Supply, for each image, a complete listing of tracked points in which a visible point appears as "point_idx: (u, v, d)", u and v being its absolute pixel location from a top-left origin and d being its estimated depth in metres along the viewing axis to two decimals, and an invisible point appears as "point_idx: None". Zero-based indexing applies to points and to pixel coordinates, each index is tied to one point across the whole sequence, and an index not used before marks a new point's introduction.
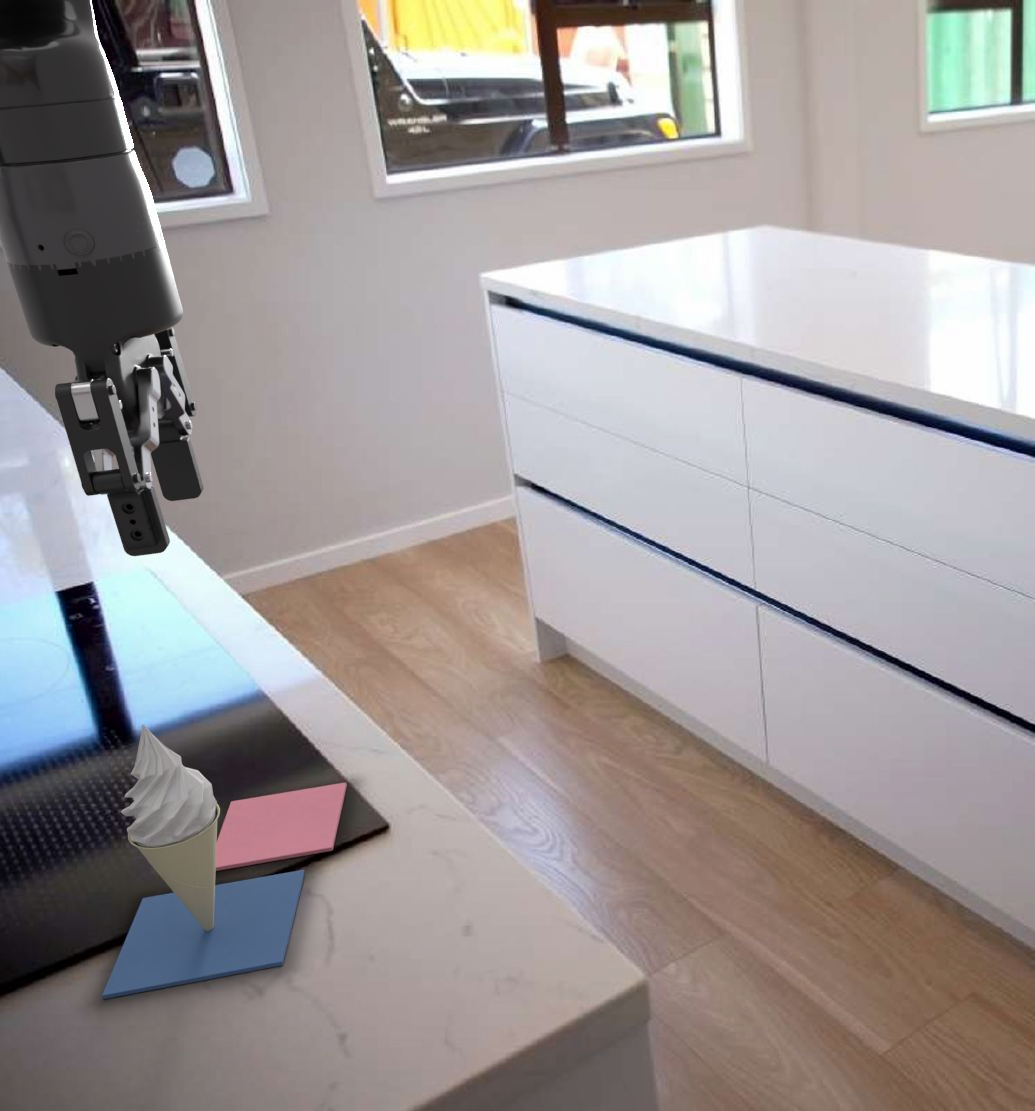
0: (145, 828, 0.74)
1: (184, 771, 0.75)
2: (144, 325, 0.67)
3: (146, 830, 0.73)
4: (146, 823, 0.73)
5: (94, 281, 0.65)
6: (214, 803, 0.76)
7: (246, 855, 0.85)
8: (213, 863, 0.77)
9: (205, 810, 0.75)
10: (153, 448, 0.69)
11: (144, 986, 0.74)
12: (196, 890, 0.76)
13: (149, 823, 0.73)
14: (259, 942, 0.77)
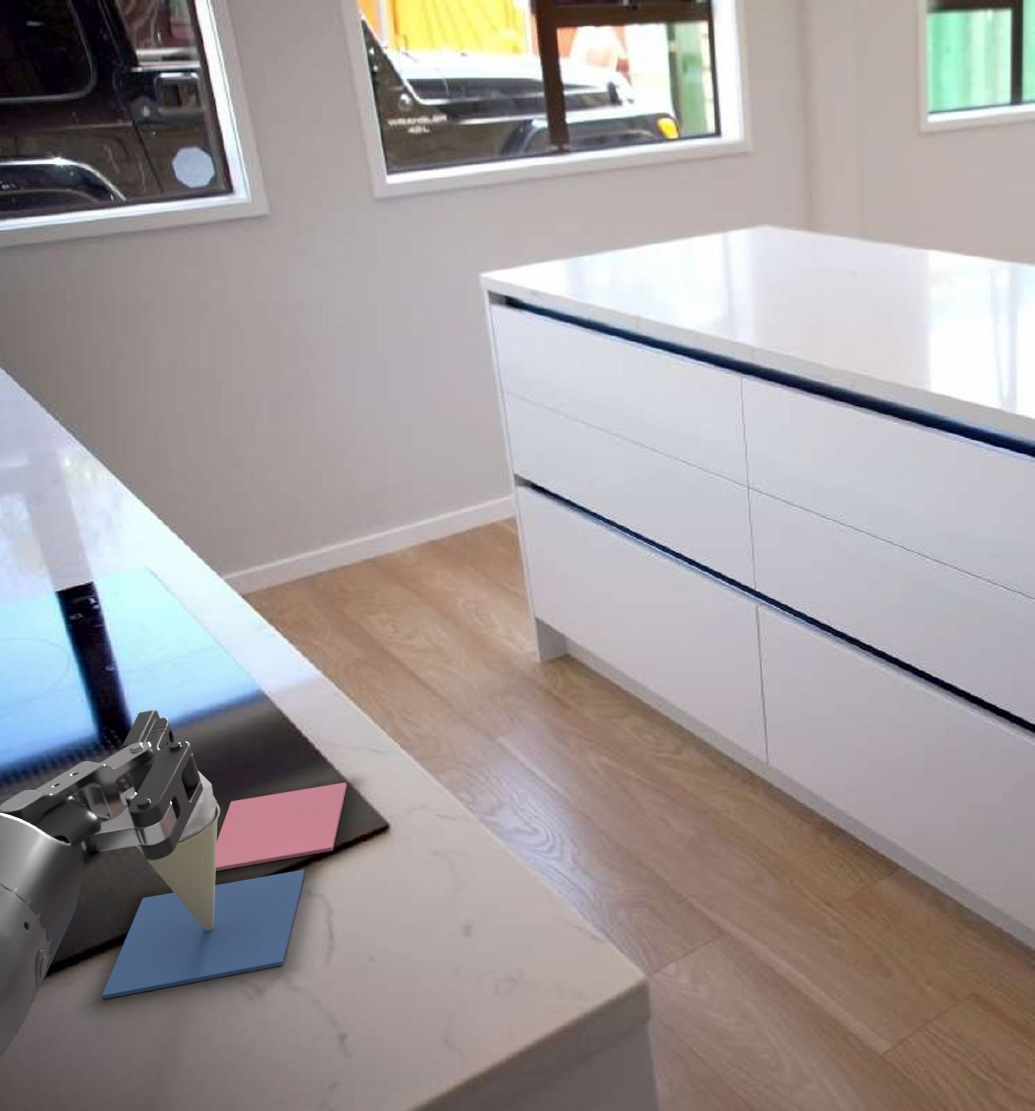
0: None
1: None
2: None
3: None
4: None
5: None
6: (214, 803, 0.76)
7: (246, 855, 0.85)
8: (213, 863, 0.77)
9: (205, 810, 0.75)
10: None
11: (144, 986, 0.74)
12: (196, 890, 0.76)
13: None
14: (259, 942, 0.77)
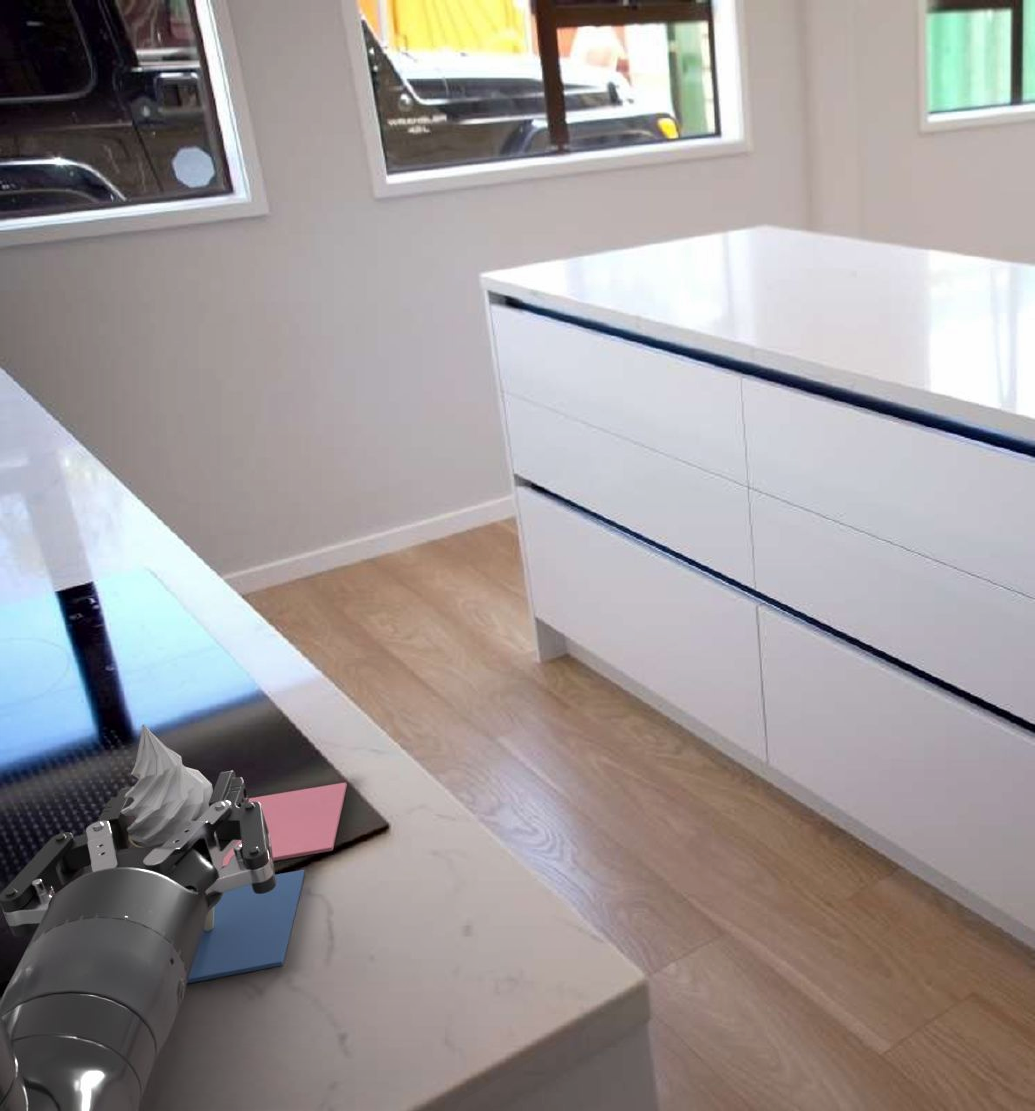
0: (145, 828, 0.74)
1: (184, 771, 0.75)
2: None
3: (146, 830, 0.74)
4: (146, 822, 0.73)
5: None
6: None
7: None
8: None
9: (205, 810, 0.75)
10: None
11: None
12: None
13: (149, 823, 0.73)
14: (259, 942, 0.77)
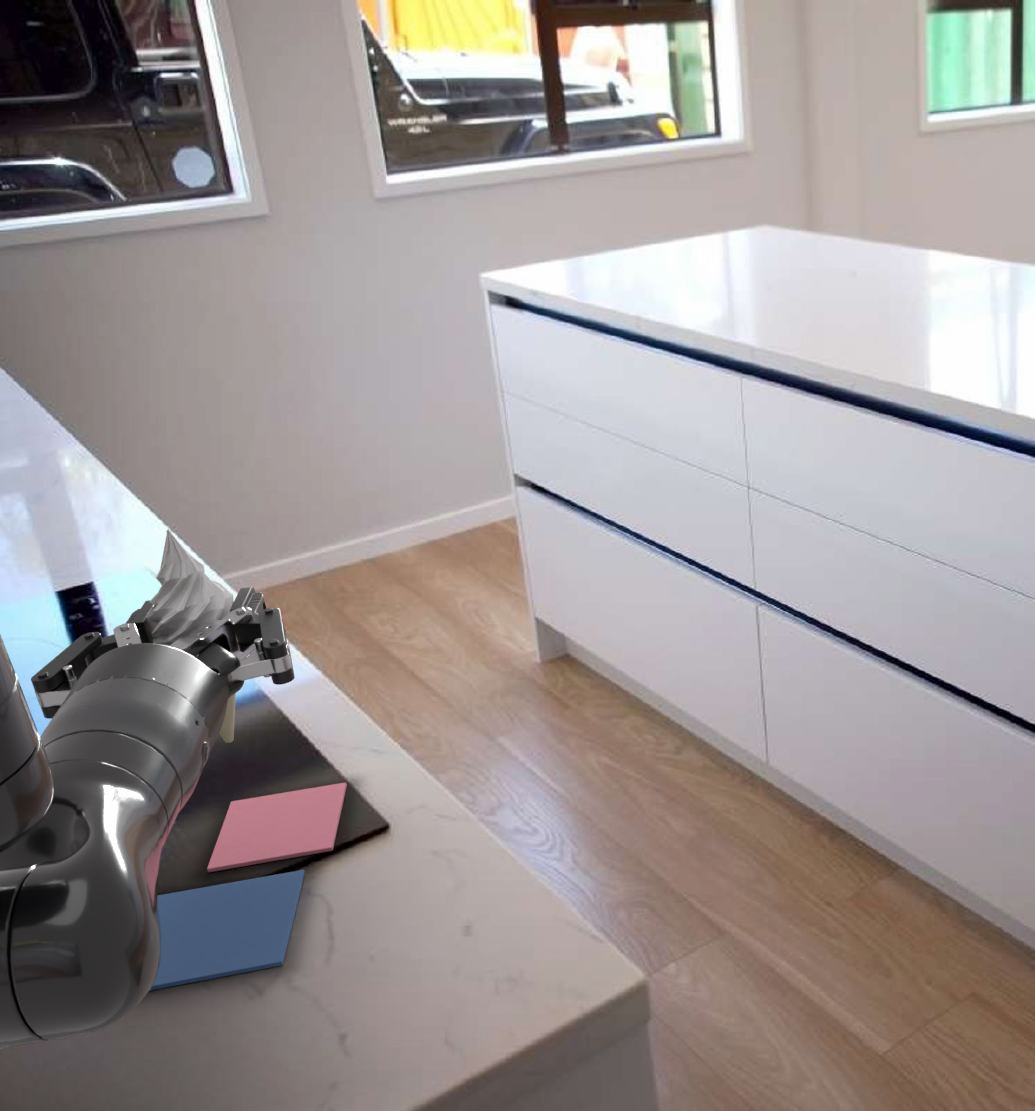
0: (169, 631, 0.77)
1: (206, 579, 0.78)
2: None
3: (170, 633, 0.77)
4: (170, 625, 0.77)
5: None
6: None
7: (246, 855, 0.85)
8: None
9: None
10: None
11: None
12: None
13: (173, 625, 0.76)
14: (259, 942, 0.77)
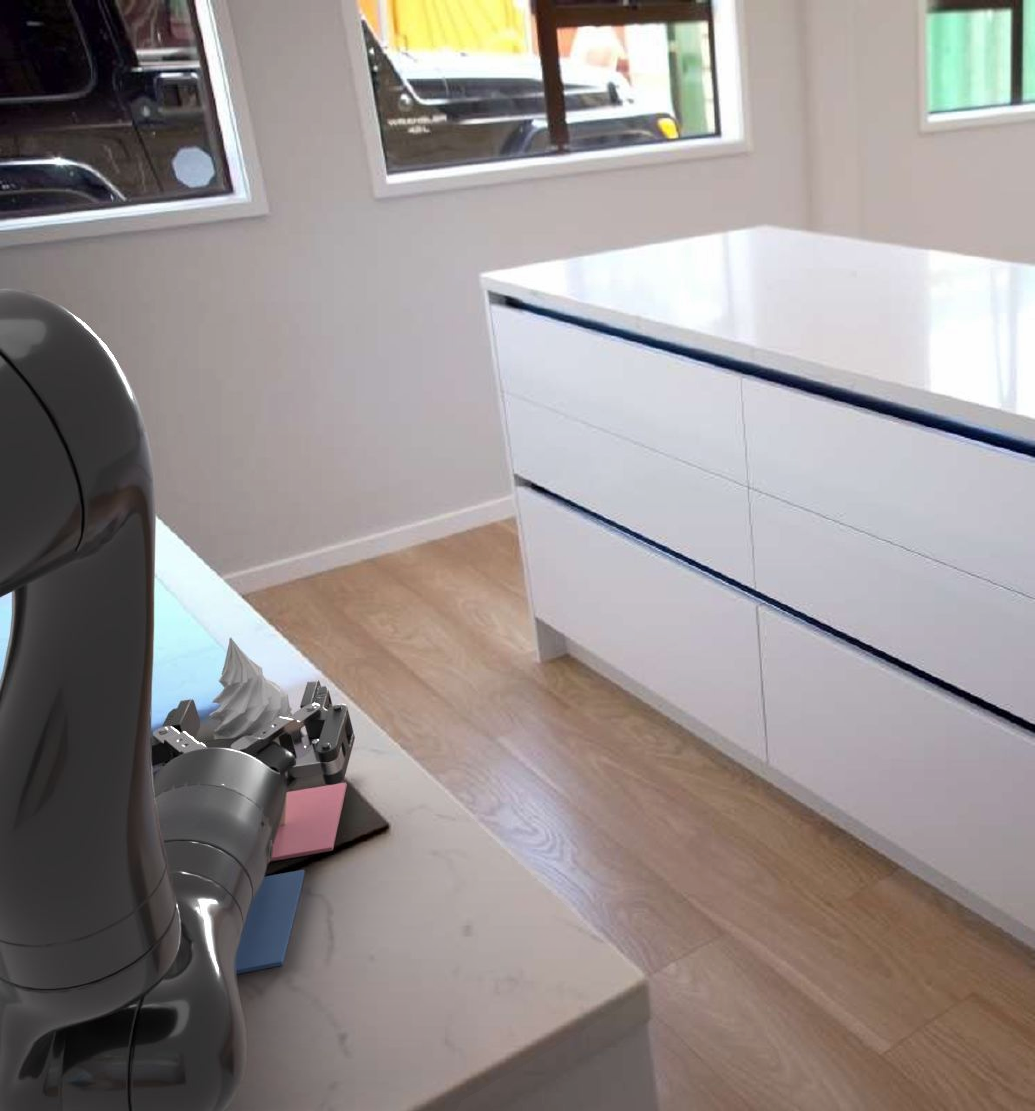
0: (230, 730, 0.83)
1: (264, 681, 0.84)
2: None
3: (231, 731, 0.83)
4: (232, 725, 0.83)
5: None
6: (289, 711, 0.86)
7: None
8: None
9: (282, 716, 0.84)
10: None
11: None
12: None
13: (234, 725, 0.83)
14: (259, 942, 0.77)
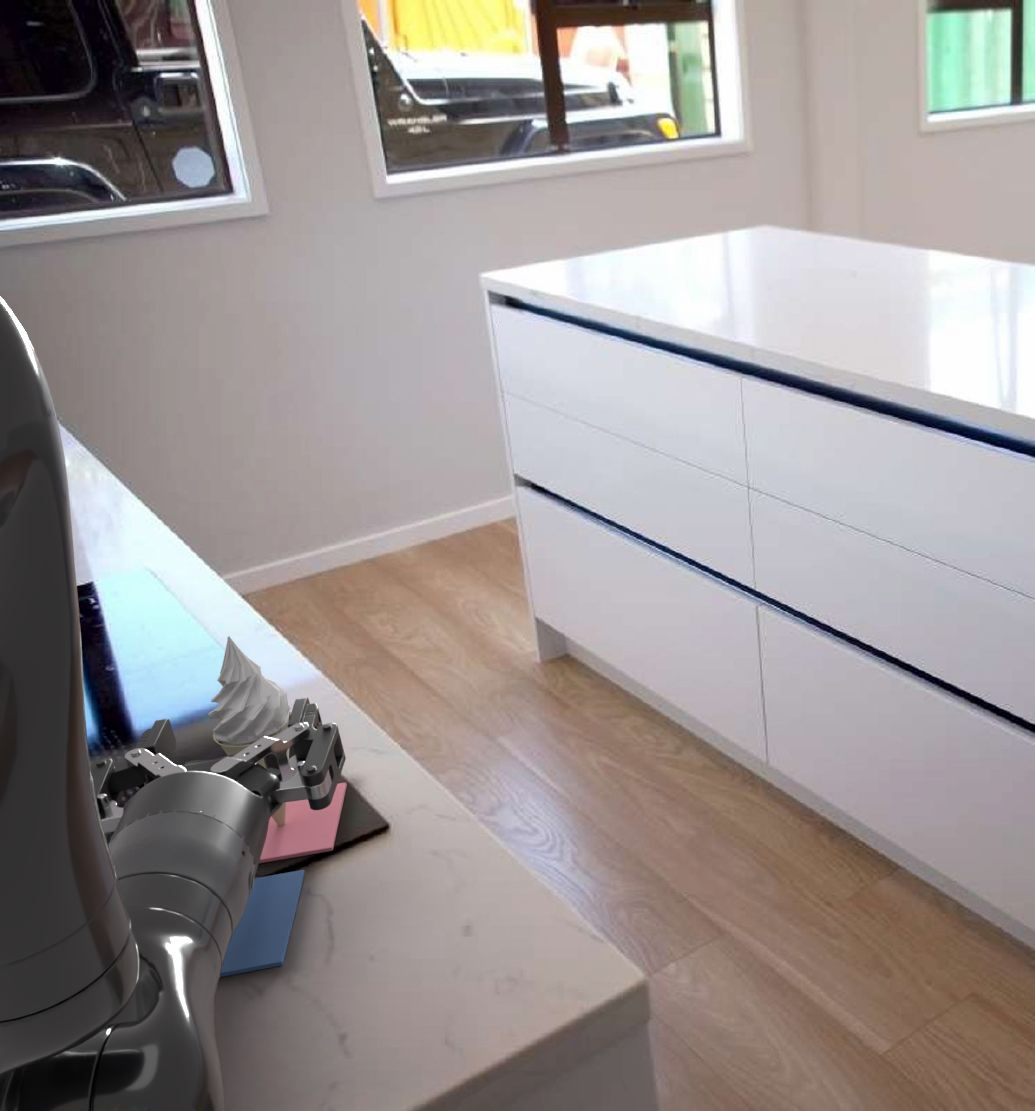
0: (229, 729, 0.83)
1: (263, 680, 0.84)
2: None
3: (230, 730, 0.83)
4: (230, 724, 0.83)
5: None
6: (288, 710, 0.86)
7: None
8: None
9: (281, 714, 0.85)
10: None
11: None
12: None
13: (233, 724, 0.83)
14: (259, 942, 0.77)
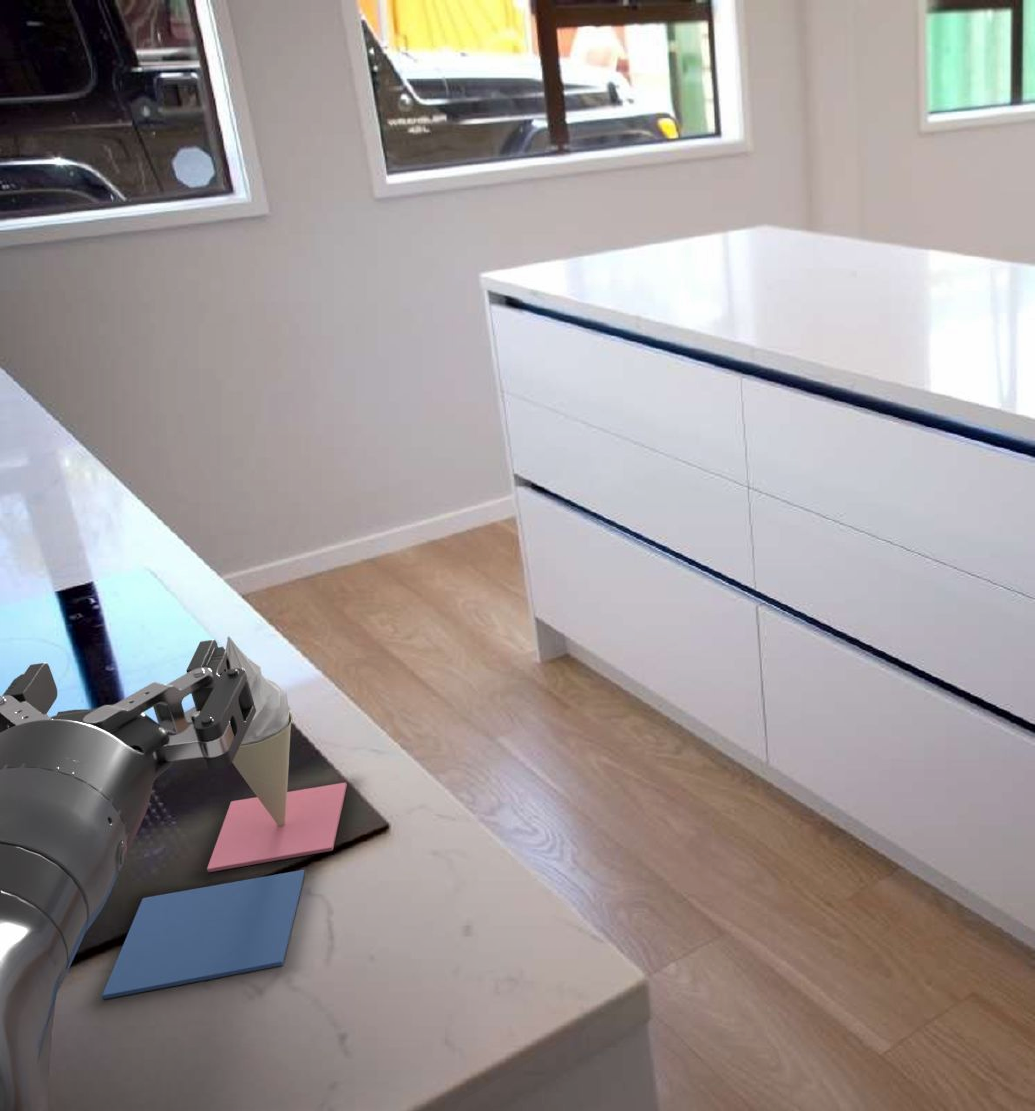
0: None
1: (263, 680, 0.84)
2: None
3: None
4: None
5: None
6: (288, 710, 0.86)
7: (246, 855, 0.85)
8: (286, 764, 0.86)
9: (281, 715, 0.84)
10: None
11: (144, 986, 0.74)
12: (272, 787, 0.86)
13: None
14: (259, 942, 0.77)
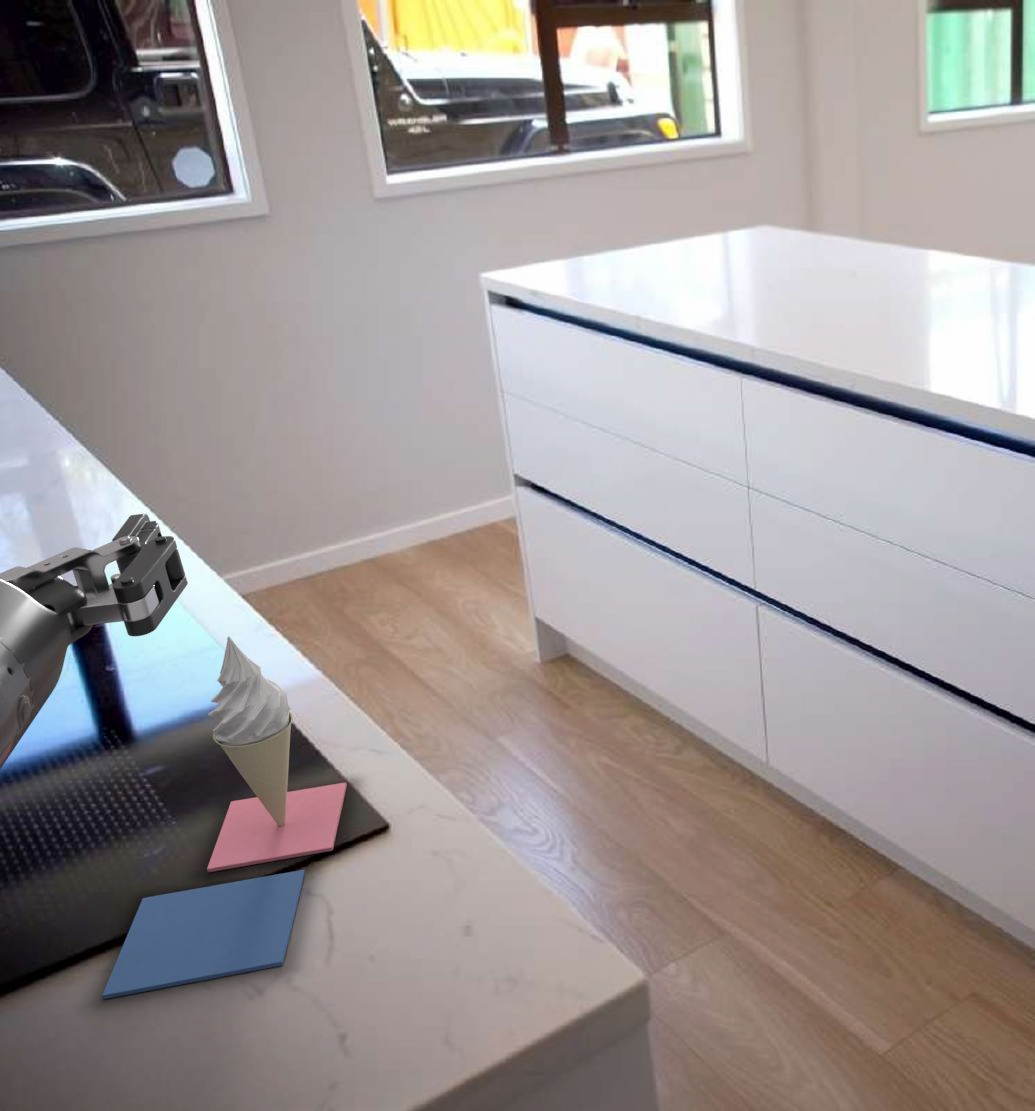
0: (229, 729, 0.83)
1: (263, 680, 0.84)
2: None
3: (230, 731, 0.83)
4: (230, 724, 0.83)
5: None
6: (288, 710, 0.86)
7: (246, 855, 0.85)
8: (286, 764, 0.86)
9: (281, 715, 0.84)
10: None
11: (144, 986, 0.74)
12: (272, 787, 0.86)
13: (233, 724, 0.83)
14: (259, 942, 0.77)
